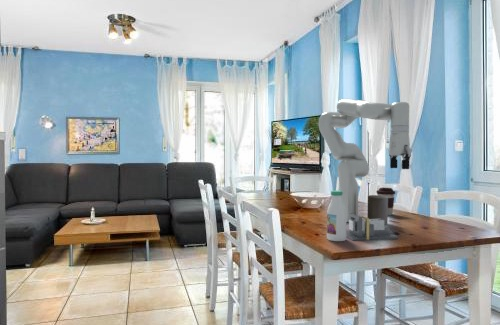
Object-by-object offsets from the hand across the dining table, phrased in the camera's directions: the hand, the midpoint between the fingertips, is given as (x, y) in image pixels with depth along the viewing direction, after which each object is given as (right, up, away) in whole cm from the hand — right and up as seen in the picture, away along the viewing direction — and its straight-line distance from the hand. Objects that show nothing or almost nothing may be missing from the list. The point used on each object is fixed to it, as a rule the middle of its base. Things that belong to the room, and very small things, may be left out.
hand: (399, 168), depth 165 cm
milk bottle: (-32, -29, -14) cm, 45 cm away
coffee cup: (+10, -27, +45) cm, 53 cm away
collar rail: (-17, -29, -9) cm, 34 cm away
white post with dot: (-18, -26, -9) cm, 32 cm away
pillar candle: (-3, -28, +19) cm, 34 cm away
